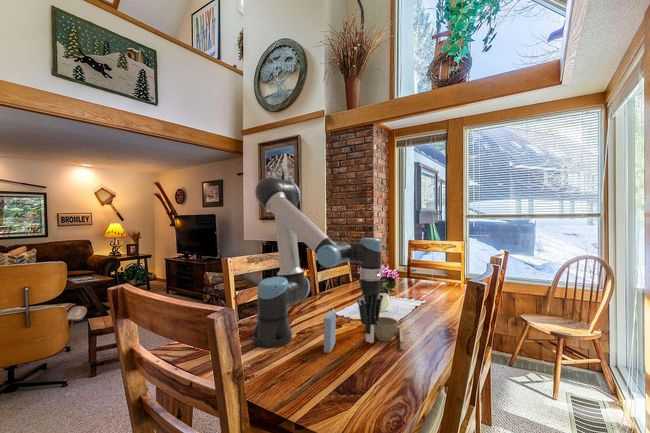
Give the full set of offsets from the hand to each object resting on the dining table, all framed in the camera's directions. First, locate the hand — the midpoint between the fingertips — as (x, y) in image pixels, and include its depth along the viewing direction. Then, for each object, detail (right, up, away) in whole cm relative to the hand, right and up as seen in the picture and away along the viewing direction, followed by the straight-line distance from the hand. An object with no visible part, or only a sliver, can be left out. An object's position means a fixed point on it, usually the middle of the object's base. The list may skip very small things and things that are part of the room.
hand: (369, 341), depth 112 cm
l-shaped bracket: (+6, -1, +5) cm, 8 cm away
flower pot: (+7, -2, +6) cm, 9 cm away
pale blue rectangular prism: (-15, -1, -2) cm, 15 cm away
